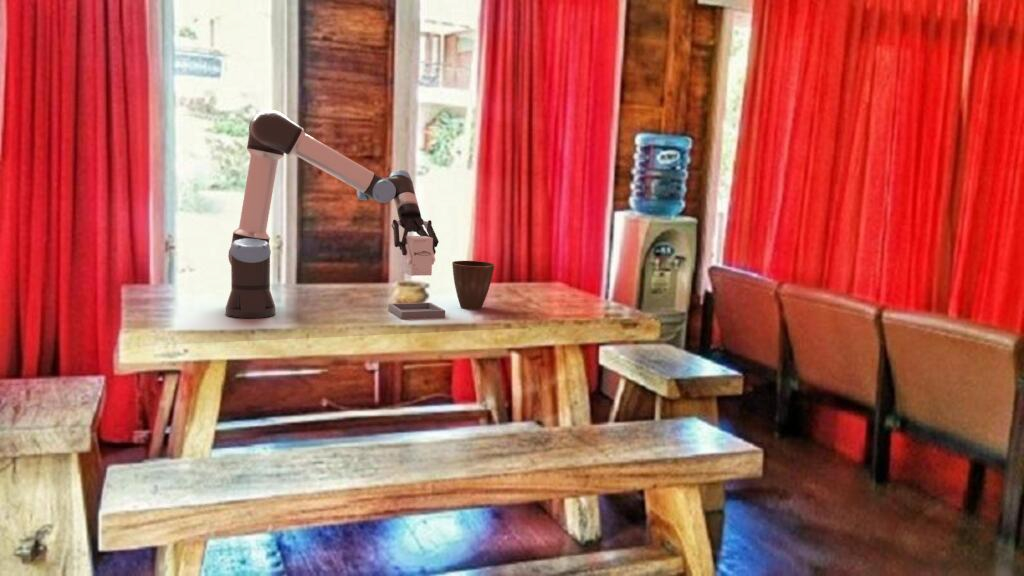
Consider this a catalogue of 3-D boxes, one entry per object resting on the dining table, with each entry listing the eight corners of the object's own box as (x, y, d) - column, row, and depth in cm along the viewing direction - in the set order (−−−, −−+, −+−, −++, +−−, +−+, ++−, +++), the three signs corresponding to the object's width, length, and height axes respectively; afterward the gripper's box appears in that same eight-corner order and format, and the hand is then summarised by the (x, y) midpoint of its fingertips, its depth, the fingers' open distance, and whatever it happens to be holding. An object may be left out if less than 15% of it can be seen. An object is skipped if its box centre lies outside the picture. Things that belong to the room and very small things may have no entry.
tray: (401, 319, 260) (401, 312, 260) (388, 310, 273) (388, 303, 273) (445, 317, 266) (445, 310, 266) (430, 309, 280) (430, 302, 279)
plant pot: (484, 303, 296) (486, 260, 293) (498, 311, 282) (500, 266, 280) (445, 304, 291) (447, 260, 288) (457, 312, 277) (459, 266, 274)
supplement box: (411, 276, 263) (412, 237, 261) (403, 273, 269) (404, 235, 267) (432, 275, 266) (433, 237, 264) (424, 272, 273) (425, 235, 271)
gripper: (433, 216, 283) (447, 268, 271) (376, 215, 274) (388, 269, 263) (438, 202, 277) (453, 255, 266) (381, 201, 269) (394, 255, 257)
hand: (421, 262), depth 264 cm, fingers closed on supplement box, 7 cm apart
